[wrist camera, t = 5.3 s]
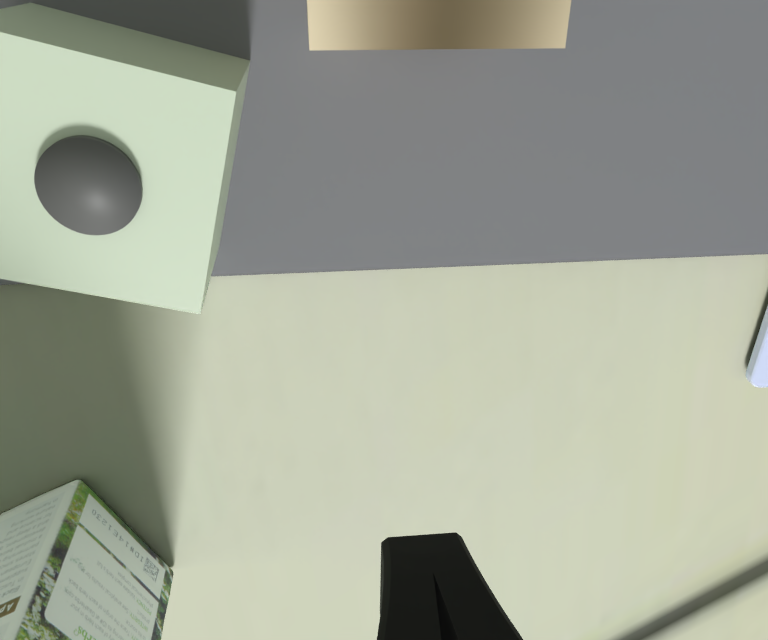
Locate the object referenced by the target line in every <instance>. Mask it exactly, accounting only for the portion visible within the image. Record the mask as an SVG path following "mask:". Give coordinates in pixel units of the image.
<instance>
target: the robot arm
mask: <svg viewBox="0 0 768 640" xmlns="http://www.w3.org/2000/svg"><path fill="white" fill-rule="evenodd" d="M746 378H747V380H748V381H749V382H750V383H751V384H752V385H754V386H755V387H768V306H767V309H766V312H765V315H764V318H763V321H762V324H761V327H760V330H759V334H758V337H757V340H756V343H755V346H754V349H753V352H752V355H751V358H750V361H749V364H748V367H747V370H746ZM377 640H523V639H522V637H521V636H520V634H519V633H518V631H517V630H516V628H515V627H514V625H513V624H512V622H511V621H510V619H509V618H508V616H507V615H506V613H505V612H504V610H503V609H502V607H501V606H500V604H499V602H498V601H497V599H496V598H495V596H494V594H493V593H492V591H491V589H490V588H489V586H488V584H487V583H486V581H485V580H484V578H483V576H482V574H481V573H480V571H479V569H478V567H477V566H476V564H475V562H474V560H473V558H472V556H471V555H470V553H469V551H468V549H467V547H466V545H465V543H464V541H463V539H462V537H461V536H460V535H458V534H457V533H443V534H429V535H416V536H402V537H388V538H387V539H385V540H384V541H383V542H382V543H381V590H380V623H379V629H378V636H377Z"/></svg>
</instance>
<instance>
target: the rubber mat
mask: <svg viewBox="0 0 768 640" xmlns="http://www.w3.org/2000/svg"><path fill="white" fill-rule="evenodd" d="M27 3H34V4H38V5H42V6H46V7H49V8H53V9H57V10H61V11H64V12H68V13H72V14H76V15H80V16H83V17H87V18H91V19H95V20H99V21H102V22H106V23H110V24H114V25H117V26H121V27H125V28H129V29H133V30H136V31H140V32H144V33H148V34H151V35H155V36H159V37H163V38H167V39H170V40H174V41H178V42H182V43H185V44H189V45H193V46H197V47H201V48H204V49H208V50H212V51H216V52H219V53H223V54H227V55H231V56H235V57H238V58H242V59H246V60H250V66H249V72H248V78H247V84H246V90H245V96H244V102H243V108H242V114H241V120H240V126H239V132H238V138H237V144H236V150H235V156H234V162H233V168H232V174H231V180H230V185H229V191H228V197H227V203H226V209H225V215H224V221H223V227H222V233H221V239H220V245H219V249H218V252H217V256H216V260H215V263H214V267H213V270H212V274H211V276H232V275H257V274H282V273H307V272H332V271H356V270H381V269H406V268H431V267H456V266H481V265H506V264H531V263H555V262H580V261H605V260H630V259H655V258H680V257H705V256H730V255H754V254H768V0H571V7H570V14H569V22H568V30H567V38H566V45H565V48H540V49H423V50H309V36H308V18H307V0H0V9H3V8H7V7H12V6H17V5H22V4H27ZM8 284H27V283H22V282H16V281H10V280H5V279H0V285H8Z"/></svg>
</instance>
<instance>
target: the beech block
mask: <svg viewBox="0 0 768 640" xmlns="http://www.w3.org/2000/svg"><path fill="white" fill-rule="evenodd" d="M570 7H571V0H307V18H308V36H309V50H423V49H540V48H565V45H566V38H567V30H568V22H569V14H570Z"/></svg>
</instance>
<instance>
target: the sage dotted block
mask: <svg viewBox="0 0 768 640" xmlns="http://www.w3.org/2000/svg"><path fill="white" fill-rule="evenodd" d="M249 66H250V60H246V59H242V58H238V57H235V56H231V55H227V54H223V53H219V52H216V51H212V50H208V49H204V48H201V47H197V46H193V45H189V44H185V43H182V42H178V41H174V40H170V39H167V38H163V37H159V36H155V35H151V34H148V33H144V32H140V31H136V30H133V29H129V28H125V27H121V26H117V25H114V24H110V23H106V22H102V21H99V20H95V19H91V18H87V17H83V16H80V15H76V14H72V13H68V12H64V11H61V10H57V9H53V8H49V7H46V6H42V5H38V4H34V3H27V4H22V5H17V6H12V7H7V8H3V9H0V279H5V280H10V281H16V282H22V283H27V284H33V285H38V286H44V287H50V288H55V289H61V290H66V291H72V292H78V293H83V294H89V295H94V296H100V297H106V298H111V299H117V300H122V301H128V302H134V303H139V304H145V305H151V306H156V307H162V308H167V309H173V310H179V311H184V312H190V313H195V314H201V310H202V307H203V303H204V299H205V296H206V292H207V289H208V285H209V281H210V278H211V274H212V270H213V267H214V263H215V260H216V256H217V252H218V249H219V245H220V239H221V233H222V227H223V221H224V215H225V209H226V203H227V197H228V191H229V185H230V180H231V174H232V168H233V162H234V156H235V150H236V144H237V138H238V132H239V126H240V120H241V114H242V108H243V102H244V96H245V90H246V84H247V78H248V72H249Z"/></svg>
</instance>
